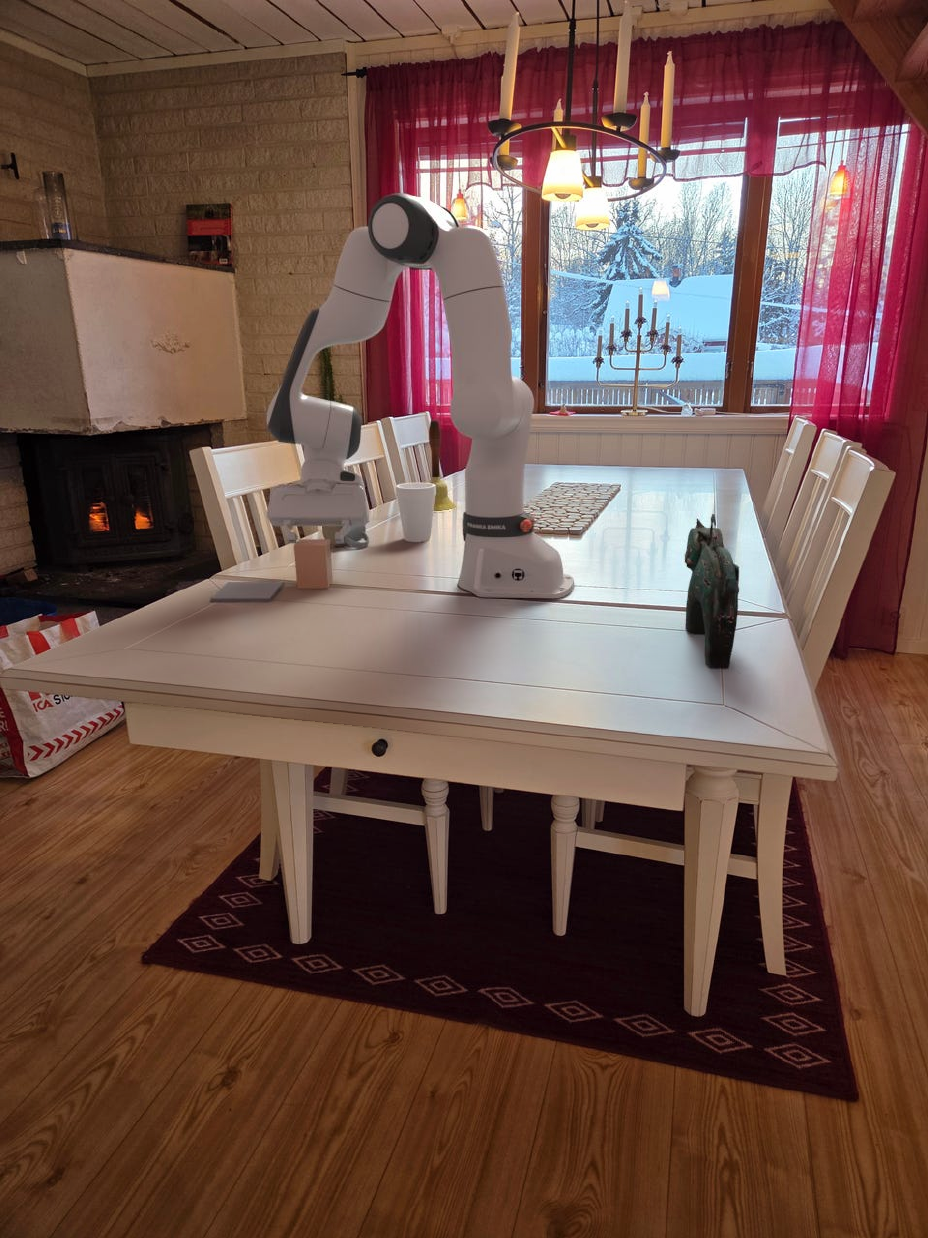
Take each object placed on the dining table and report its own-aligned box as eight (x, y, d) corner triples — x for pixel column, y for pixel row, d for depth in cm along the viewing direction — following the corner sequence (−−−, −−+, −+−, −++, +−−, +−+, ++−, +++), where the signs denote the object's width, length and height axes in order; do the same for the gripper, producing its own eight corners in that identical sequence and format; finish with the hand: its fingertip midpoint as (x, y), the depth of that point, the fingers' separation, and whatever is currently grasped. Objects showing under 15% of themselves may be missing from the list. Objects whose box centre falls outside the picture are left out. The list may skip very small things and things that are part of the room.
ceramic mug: (320, 546, 188) (318, 513, 185) (342, 539, 194) (341, 508, 192) (355, 552, 182) (354, 519, 180) (377, 544, 189) (376, 512, 186)
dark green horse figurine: (676, 624, 131) (686, 504, 125) (717, 625, 130) (728, 504, 124) (698, 670, 112) (710, 531, 106) (745, 671, 112) (760, 531, 105)
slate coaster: (284, 584, 156) (283, 581, 156) (269, 601, 146) (269, 598, 146) (228, 585, 157) (228, 582, 156) (210, 601, 146) (210, 598, 146)
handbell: (464, 506, 234) (463, 418, 226) (446, 513, 223) (444, 422, 215) (427, 503, 239) (424, 418, 231) (407, 510, 228) (404, 421, 220)
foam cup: (431, 544, 188) (429, 489, 184) (393, 542, 190) (391, 488, 186) (440, 535, 197) (439, 482, 193) (404, 534, 198) (402, 482, 194)
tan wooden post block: (332, 581, 158) (329, 539, 155) (328, 588, 153) (325, 545, 151) (302, 581, 158) (299, 539, 155) (297, 588, 153) (293, 545, 151)
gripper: (267, 475, 160) (258, 533, 154) (368, 474, 159) (363, 533, 153) (275, 493, 166) (266, 550, 159) (372, 493, 165) (368, 550, 159)
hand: (315, 542), depth 156 cm, fingers open, 8 cm apart
